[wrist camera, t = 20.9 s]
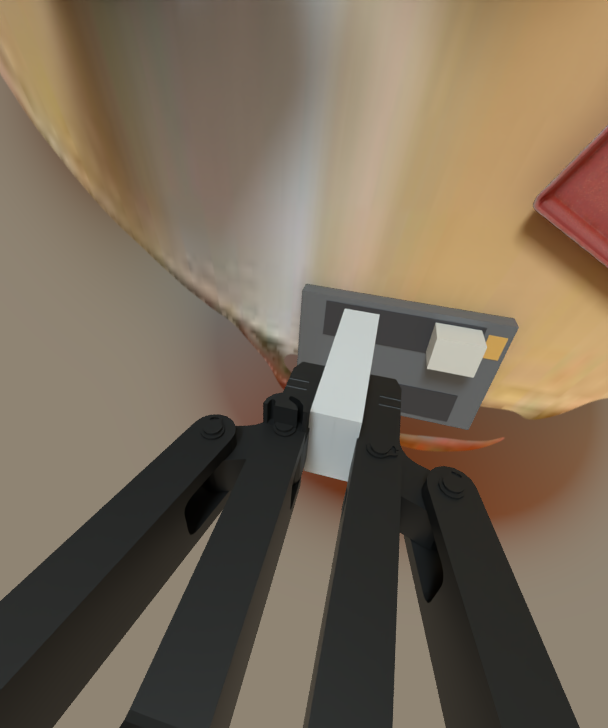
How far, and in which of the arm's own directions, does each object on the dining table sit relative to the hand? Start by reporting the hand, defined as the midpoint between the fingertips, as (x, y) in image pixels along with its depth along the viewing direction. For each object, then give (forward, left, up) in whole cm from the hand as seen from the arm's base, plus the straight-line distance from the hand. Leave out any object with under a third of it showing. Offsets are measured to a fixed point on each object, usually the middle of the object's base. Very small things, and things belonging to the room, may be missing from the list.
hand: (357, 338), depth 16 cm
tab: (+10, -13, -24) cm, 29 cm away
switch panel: (+4, -18, -26) cm, 32 cm away
